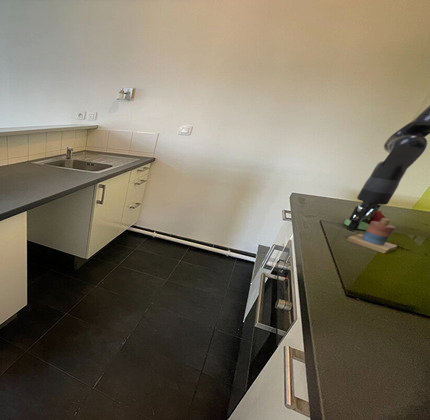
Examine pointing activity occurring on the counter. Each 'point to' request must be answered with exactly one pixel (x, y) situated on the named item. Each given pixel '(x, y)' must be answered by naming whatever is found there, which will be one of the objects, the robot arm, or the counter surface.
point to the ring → (361, 226)
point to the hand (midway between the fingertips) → (354, 229)
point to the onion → (377, 217)
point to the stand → (375, 236)
